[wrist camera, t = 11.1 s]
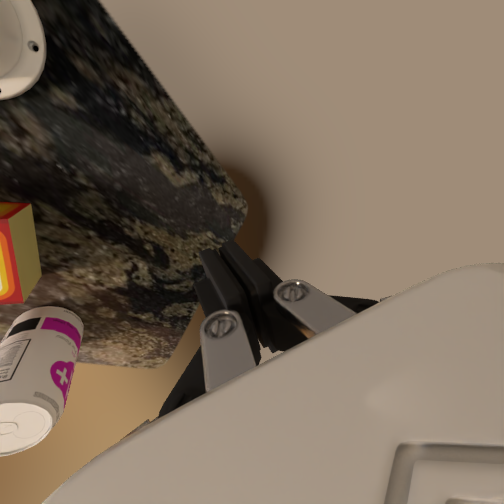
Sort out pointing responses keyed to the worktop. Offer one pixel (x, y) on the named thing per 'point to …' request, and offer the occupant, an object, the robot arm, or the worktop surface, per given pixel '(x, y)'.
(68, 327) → the supplement can
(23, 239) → the baking soda box
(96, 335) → the worktop surface
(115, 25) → the worktop surface
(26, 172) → the worktop surface
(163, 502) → the robot arm
